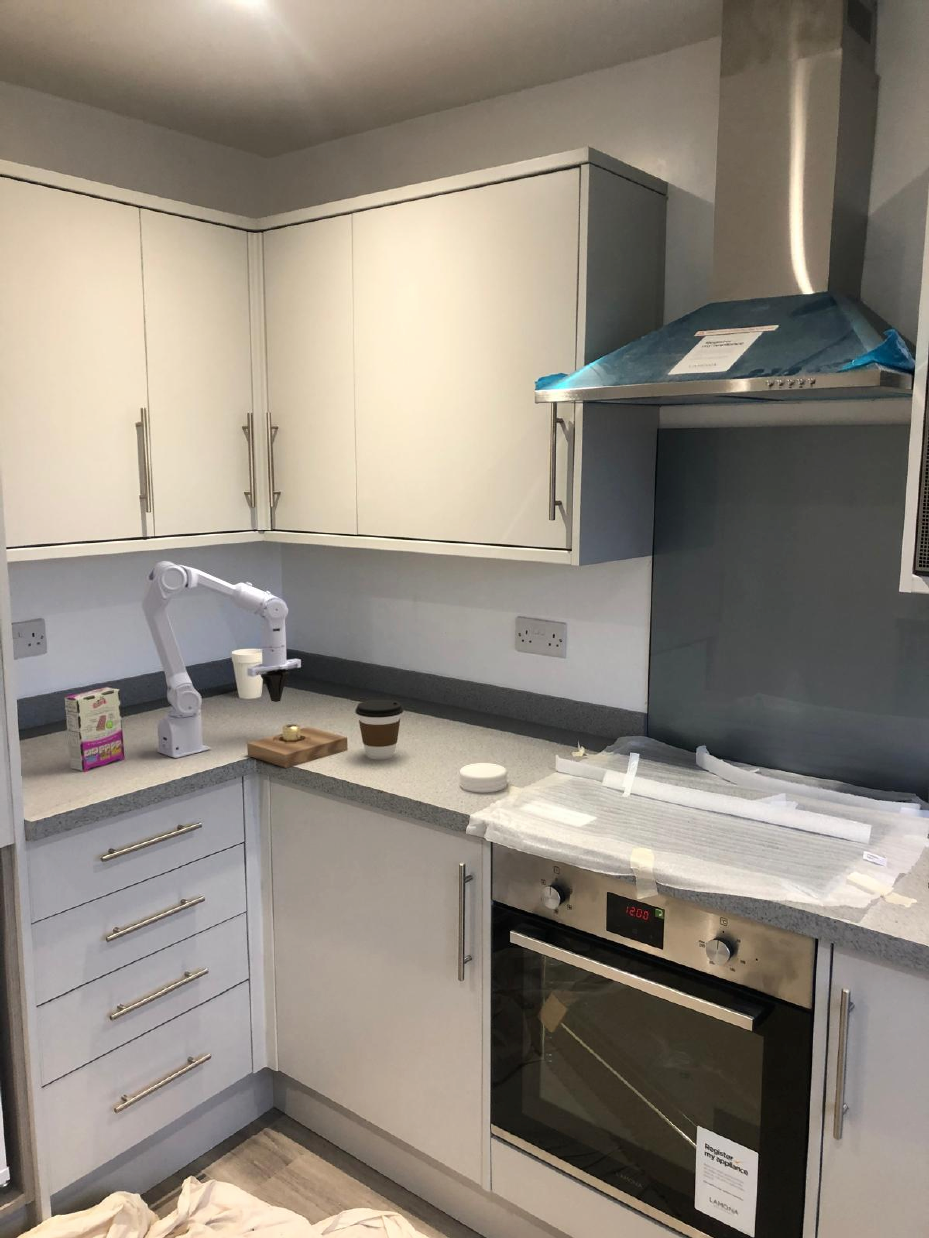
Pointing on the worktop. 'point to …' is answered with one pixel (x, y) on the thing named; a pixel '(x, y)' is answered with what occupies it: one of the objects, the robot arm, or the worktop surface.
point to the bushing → (291, 733)
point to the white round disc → (483, 777)
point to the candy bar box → (94, 728)
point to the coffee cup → (379, 727)
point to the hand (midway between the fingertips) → (275, 700)
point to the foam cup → (241, 662)
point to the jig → (297, 747)
